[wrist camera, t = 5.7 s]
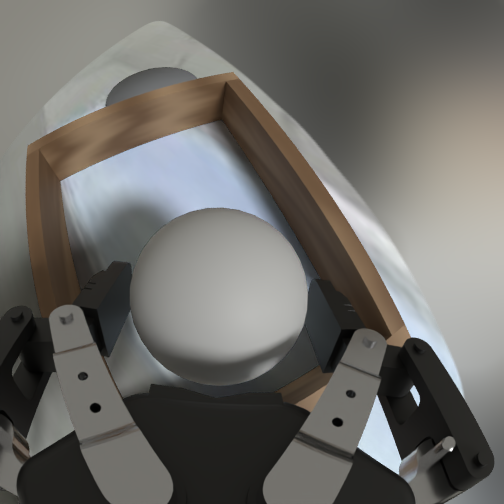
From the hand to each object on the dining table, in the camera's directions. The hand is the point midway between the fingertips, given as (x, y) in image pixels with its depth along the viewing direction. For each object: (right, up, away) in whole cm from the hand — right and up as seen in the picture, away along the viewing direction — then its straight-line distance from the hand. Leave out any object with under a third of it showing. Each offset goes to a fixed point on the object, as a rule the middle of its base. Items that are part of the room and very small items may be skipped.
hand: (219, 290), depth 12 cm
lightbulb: (-1, -3, +5) cm, 6 cm away
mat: (-9, +18, +12) cm, 23 cm away
